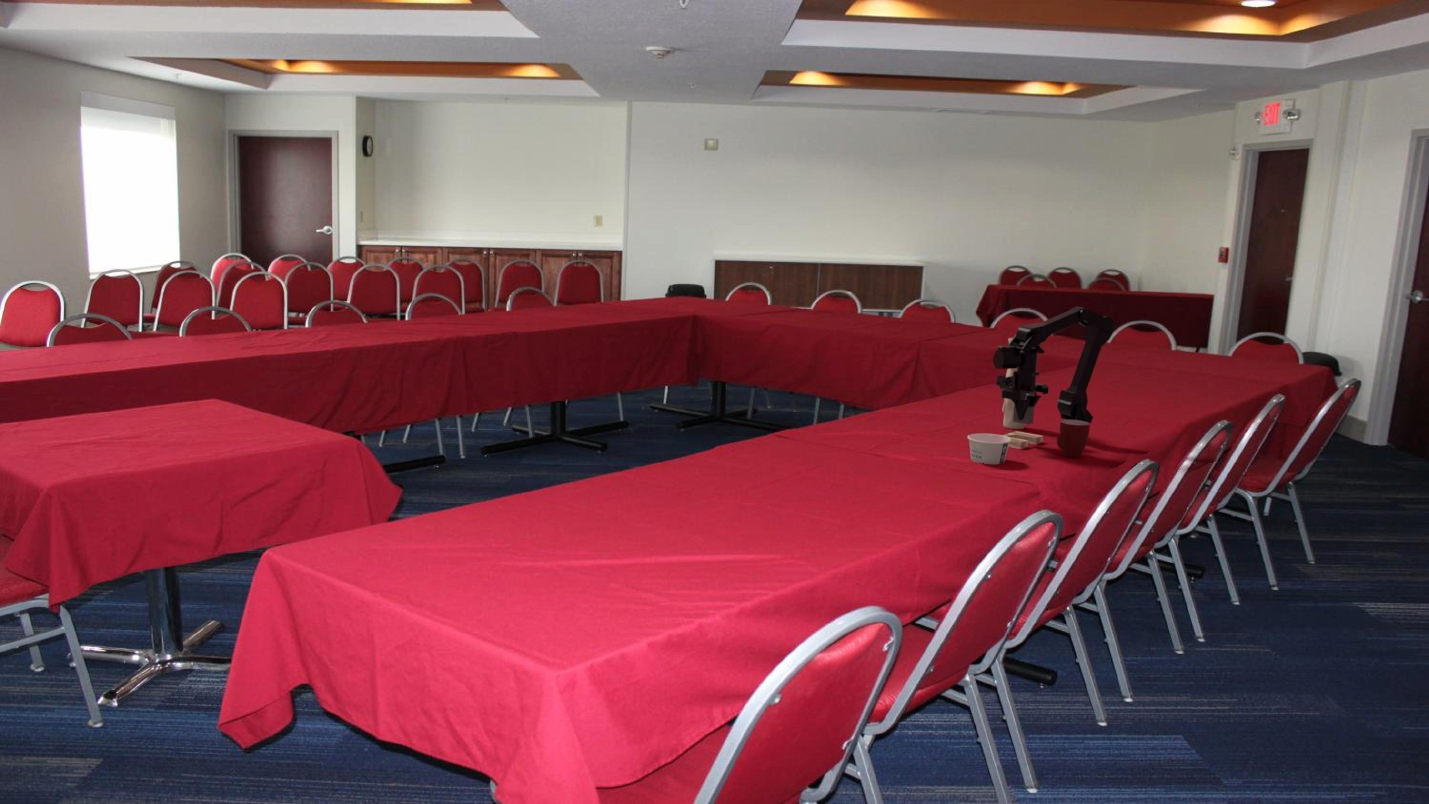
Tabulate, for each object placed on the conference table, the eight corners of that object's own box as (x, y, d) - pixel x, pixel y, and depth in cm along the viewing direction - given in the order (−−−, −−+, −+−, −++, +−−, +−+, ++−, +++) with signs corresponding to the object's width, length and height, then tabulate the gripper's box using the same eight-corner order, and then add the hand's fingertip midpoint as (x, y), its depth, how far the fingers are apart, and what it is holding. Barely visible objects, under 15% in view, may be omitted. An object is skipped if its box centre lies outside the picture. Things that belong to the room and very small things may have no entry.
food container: (957, 458, 302) (958, 436, 301) (984, 453, 309) (986, 431, 308) (991, 467, 293) (992, 444, 292) (1018, 462, 300) (1020, 439, 299)
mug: (1072, 462, 301) (1075, 427, 299) (1047, 456, 307) (1049, 422, 305) (1092, 457, 308) (1095, 423, 306) (1067, 451, 314) (1070, 418, 312)
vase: (1011, 423, 353) (1018, 333, 347) (1034, 428, 347) (1041, 336, 341) (996, 427, 347) (1003, 335, 342) (1019, 431, 341) (1026, 338, 335)
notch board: (1015, 437, 332) (1016, 431, 331) (1042, 442, 326) (1043, 435, 325) (993, 444, 322) (993, 437, 321) (1020, 449, 316) (1020, 442, 315)
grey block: (1017, 420, 325) (1019, 404, 324) (1033, 423, 321) (1034, 406, 320) (1013, 421, 323) (1014, 405, 322) (1028, 424, 319) (1029, 408, 318)
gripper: (1017, 362, 331) (1013, 411, 334) (986, 368, 318) (983, 419, 321) (1051, 366, 323) (1047, 416, 326) (1021, 372, 310) (1017, 425, 313)
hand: (1023, 419), depth 322 cm, fingers closed on grey block, 3 cm apart
